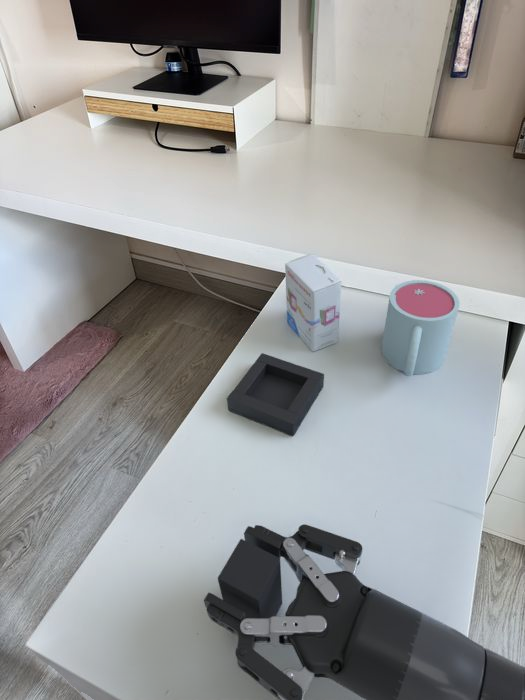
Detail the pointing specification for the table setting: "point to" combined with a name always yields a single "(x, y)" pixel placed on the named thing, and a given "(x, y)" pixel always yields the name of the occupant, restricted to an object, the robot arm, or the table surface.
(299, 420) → the base pad
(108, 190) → the table surface
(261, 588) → the block
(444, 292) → the mug
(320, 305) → the ink box
